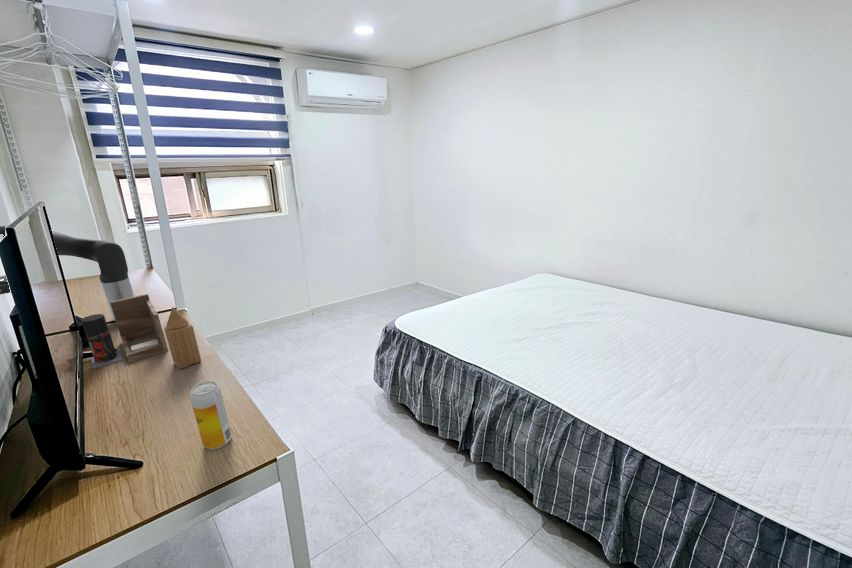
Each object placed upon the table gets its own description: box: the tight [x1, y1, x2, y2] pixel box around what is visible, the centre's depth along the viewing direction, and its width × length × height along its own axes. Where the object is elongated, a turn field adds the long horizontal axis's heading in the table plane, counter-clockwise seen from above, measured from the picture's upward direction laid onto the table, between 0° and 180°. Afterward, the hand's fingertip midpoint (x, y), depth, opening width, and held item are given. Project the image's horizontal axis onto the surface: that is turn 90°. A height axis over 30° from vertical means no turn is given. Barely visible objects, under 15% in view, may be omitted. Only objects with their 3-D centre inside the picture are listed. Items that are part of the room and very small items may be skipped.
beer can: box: [189, 380, 232, 451], centre depth 90 cm, size 6×6×15 cm
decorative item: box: [164, 306, 202, 370], centre depth 126 cm, size 7×7×20 cm
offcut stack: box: [130, 338, 160, 353], centre depth 137 cm, size 4×8×3 cm, turn 131°
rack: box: [110, 293, 169, 363], centre depth 139 cm, size 20×11×16 cm, turn 41°
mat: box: [90, 349, 124, 370], centre depth 133 cm, size 9×8×1 cm
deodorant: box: [80, 313, 117, 363], centre depth 130 cm, size 6×6×15 cm
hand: (41, 277), depth 123 cm, fingers open, 8 cm apart
